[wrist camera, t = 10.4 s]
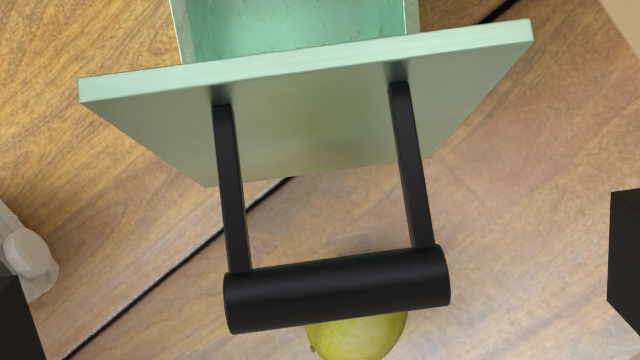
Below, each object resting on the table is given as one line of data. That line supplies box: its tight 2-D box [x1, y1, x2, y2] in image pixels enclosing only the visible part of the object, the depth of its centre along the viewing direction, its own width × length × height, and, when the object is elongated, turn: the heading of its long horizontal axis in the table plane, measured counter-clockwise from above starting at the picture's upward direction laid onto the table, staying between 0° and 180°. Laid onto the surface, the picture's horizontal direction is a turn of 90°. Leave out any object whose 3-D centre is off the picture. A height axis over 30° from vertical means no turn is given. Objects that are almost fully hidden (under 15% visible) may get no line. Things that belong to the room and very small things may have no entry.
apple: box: [305, 311, 408, 360], centre depth 49 cm, size 8×9×8 cm
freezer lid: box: [77, 18, 534, 335], centre depth 27 cm, size 19×14×8 cm
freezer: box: [169, 0, 420, 64], centre depth 40 cm, size 18×14×11 cm
